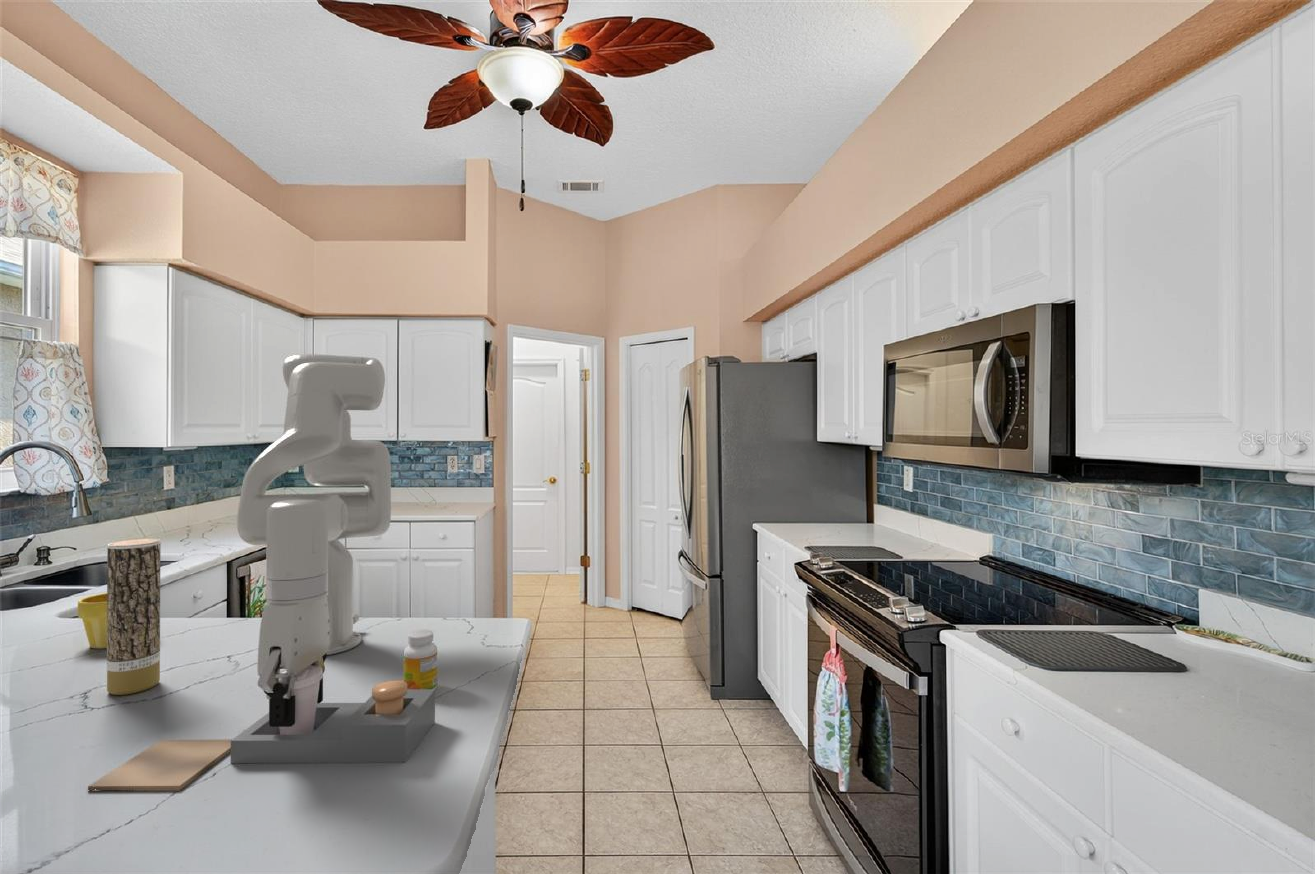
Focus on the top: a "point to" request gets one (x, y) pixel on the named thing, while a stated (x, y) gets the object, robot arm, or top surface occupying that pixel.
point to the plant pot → (94, 619)
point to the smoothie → (304, 700)
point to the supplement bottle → (420, 661)
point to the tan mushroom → (389, 697)
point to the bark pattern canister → (133, 615)
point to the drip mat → (165, 766)
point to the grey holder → (343, 734)
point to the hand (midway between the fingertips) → (297, 712)
